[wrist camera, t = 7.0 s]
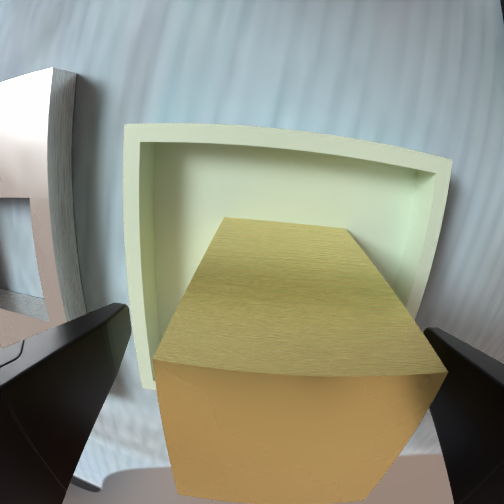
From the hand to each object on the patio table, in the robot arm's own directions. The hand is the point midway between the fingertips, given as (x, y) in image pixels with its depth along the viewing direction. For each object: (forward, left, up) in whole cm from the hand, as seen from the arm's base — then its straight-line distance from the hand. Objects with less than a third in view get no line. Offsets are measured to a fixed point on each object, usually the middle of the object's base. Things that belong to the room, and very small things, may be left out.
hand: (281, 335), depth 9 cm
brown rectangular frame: (+13, 0, -4) cm, 14 cm away
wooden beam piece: (0, 0, -4) cm, 4 cm away
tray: (0, 0, -4) cm, 4 cm away
